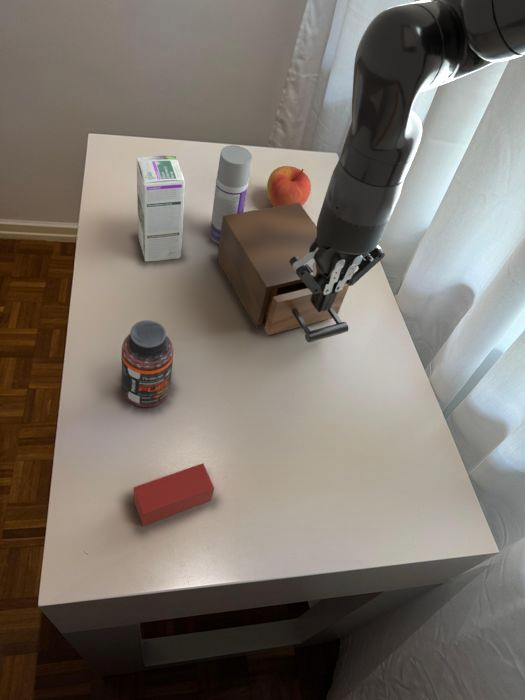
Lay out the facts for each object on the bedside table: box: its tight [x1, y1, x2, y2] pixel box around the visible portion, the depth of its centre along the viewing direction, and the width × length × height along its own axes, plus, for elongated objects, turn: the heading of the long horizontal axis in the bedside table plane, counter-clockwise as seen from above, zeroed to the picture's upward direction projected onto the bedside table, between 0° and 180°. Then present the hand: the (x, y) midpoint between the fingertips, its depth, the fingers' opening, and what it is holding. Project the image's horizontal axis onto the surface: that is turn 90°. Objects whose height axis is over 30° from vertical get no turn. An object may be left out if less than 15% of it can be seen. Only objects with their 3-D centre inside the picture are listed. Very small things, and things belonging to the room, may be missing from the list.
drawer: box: [264, 282, 350, 344], centre depth 82 cm, size 19×11×7 cm, turn 25°
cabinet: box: [216, 203, 317, 330], centre depth 84 cm, size 15×13×9 cm
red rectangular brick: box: [133, 463, 215, 527], centre depth 63 cm, size 8×3×3 cm, turn 115°
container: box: [209, 144, 253, 245], centre depth 87 cm, size 5×5×15 cm
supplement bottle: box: [120, 319, 174, 408], centre depth 68 cm, size 6×6×11 cm
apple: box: [266, 165, 312, 207], centre depth 96 cm, size 7×7×8 cm
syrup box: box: [136, 155, 186, 262], centre depth 83 cm, size 6×6×14 cm
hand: (320, 306), depth 76 cm, fingers closed
